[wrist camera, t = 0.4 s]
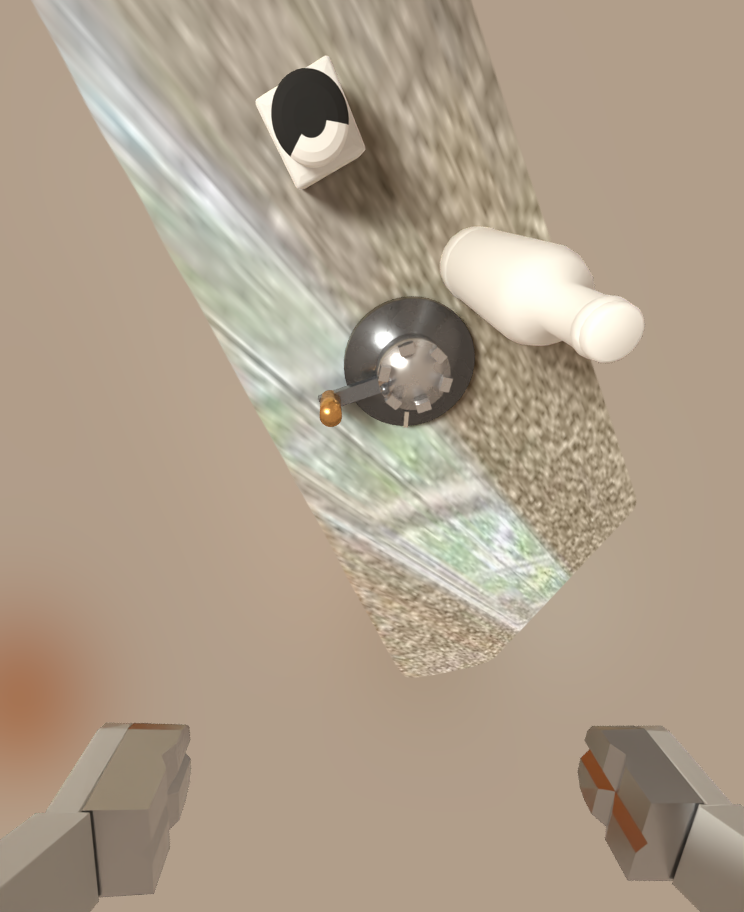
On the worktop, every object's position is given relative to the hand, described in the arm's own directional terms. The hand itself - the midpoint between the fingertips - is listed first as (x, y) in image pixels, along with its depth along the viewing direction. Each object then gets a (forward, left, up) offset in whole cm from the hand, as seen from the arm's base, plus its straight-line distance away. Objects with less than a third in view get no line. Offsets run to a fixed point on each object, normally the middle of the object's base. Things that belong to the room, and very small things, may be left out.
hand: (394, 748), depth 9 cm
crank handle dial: (+6, +11, -48) cm, 49 cm away
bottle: (-11, +11, -50) cm, 52 cm away
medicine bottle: (-10, -10, -50) cm, 52 cm away
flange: (+3, +13, -50) cm, 51 cm away
